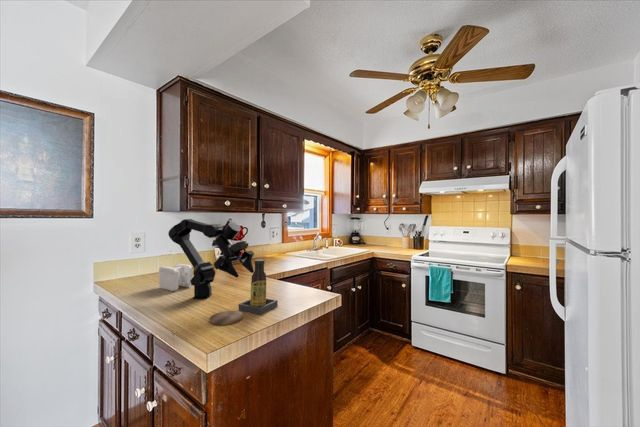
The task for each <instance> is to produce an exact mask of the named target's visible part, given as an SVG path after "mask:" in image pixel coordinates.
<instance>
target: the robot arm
mask: <svg viewBox="0 0 640 427" xmlns="http://www.w3.org/2000/svg"><path fill="white" fill-rule="evenodd" d="M192 230H193V231H196V232H199V233H203V235H204V236H205V237H206V238H208V239H209V238H210V239H212V244H211V246H212V247H217V248H218V249H219V251H220V255H219V257H217V259H216V260H215V261H214V263H213V265H212V263H211V261H206V262H205V261H204V260H203V258H202V257H201V255H200V253H199V252H198V250H197V249H196V248H195V246H194V244H193V243H192V241H191V237H190V236H191V234H190V233H192ZM241 230H242V228H241V226H240V224H238V223H236V222H235V221H234V222H233V220H232V219H231V220H227V221H226V223H225V225H223V224H219V223H217V224H215V223H212V224H210V223H205V222H202V221H197V220H194V219H192V218H188V219H187V218H186V219H185V218H184V219H182V220H181V221H179V223H177V224H175V225H173V226H172V227H171V228H170V229H169V231H168V233H167V234H168V237H169V239H170V240H171V241H172V242H174V244H177V245H179V247H180V248H181V249H182V251H183V253H184V255H185V256H186V257H187V259H188V260H189V263H190V264H191V265H192V268H193V270H192V275H193V276H192V279H191V285H192V286H194V288H193V289H194V296H193V297H192V299H193V300H196V299H197V300H200V299H203V300H204V299H208V298H210V296H212V295H213V294H212V285H211V283H213V282H214V280H215V276H216V270H219V271H223V272H224V273H227V274H228V275H230V276H233V277H235V278H239V276H240V275H239V274H238V272H237V270H236V269H235V267H234V265H233V263H234V262H238V261H239V262H240V263H241V266H243V267H244V268H245V269H246V270H247V271H249V272H250V273H251V274H253V273H254V271H255V270H254V267H253V263H252V259H253V258H254V255H255V253H254V252H253V250H247V249H248V248H249V242H248V241H247V240H246V239H244V240H243V239H242V241H241V240H240V241H237V242H235V243H233V242H232V240H234V239H235V238H236V237H237V235H238V234H239V233H240V231H241ZM213 238H215V239H213ZM243 250H246V251H244V252H243Z"/></svg>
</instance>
